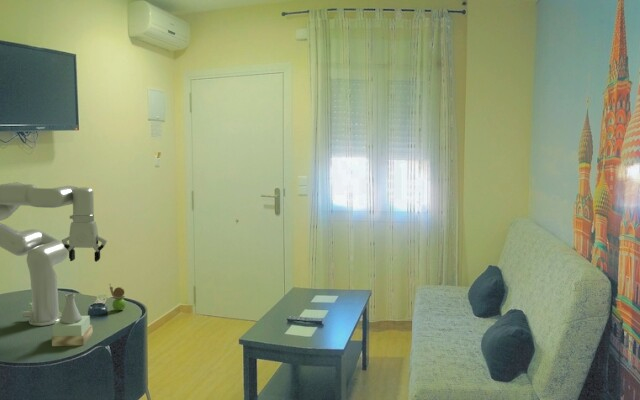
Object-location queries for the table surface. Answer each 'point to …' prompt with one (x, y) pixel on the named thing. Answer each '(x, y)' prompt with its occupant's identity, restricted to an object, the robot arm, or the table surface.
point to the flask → (70, 311)
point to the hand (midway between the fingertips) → (84, 260)
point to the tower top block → (71, 327)
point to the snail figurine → (118, 298)
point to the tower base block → (72, 339)
